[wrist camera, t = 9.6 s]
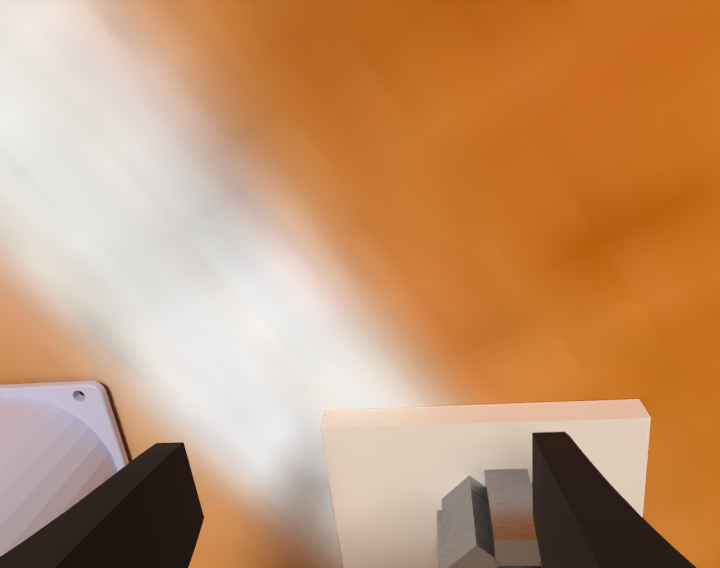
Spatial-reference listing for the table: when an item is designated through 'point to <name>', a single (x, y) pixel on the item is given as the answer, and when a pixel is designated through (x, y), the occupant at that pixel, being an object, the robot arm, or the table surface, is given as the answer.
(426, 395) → the table surface
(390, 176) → the table surface
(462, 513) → the steel gear
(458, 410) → the gear board
